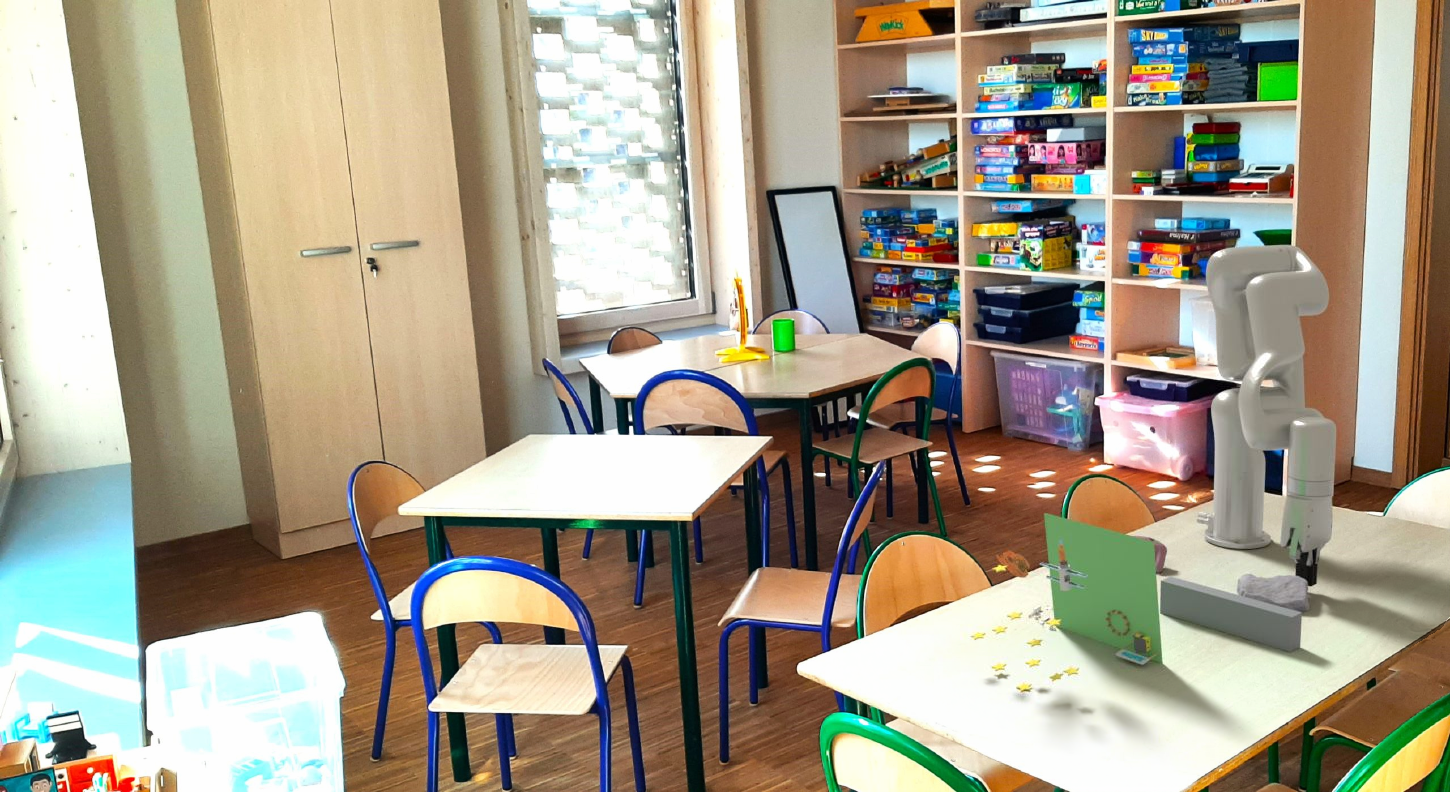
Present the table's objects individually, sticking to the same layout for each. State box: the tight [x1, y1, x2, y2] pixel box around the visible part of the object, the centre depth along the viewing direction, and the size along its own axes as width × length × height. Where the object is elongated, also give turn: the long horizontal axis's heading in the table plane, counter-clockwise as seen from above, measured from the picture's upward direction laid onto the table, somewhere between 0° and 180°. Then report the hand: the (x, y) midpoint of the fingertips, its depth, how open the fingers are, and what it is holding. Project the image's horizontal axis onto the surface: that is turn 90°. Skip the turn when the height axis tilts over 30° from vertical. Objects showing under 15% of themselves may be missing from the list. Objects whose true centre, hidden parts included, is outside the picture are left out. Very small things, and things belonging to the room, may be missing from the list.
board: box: [1159, 576, 1303, 653], centre depth 213 cm, size 24×3×6 cm, turn 38°
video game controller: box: [1133, 535, 1168, 574], centre depth 246 cm, size 10×5×7 cm, turn 58°
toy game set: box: [970, 512, 1163, 692], centre depth 201 cm, size 22×25×24 cm
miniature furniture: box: [1028, 605, 1057, 631], centre depth 228 cm, size 7×25×2 cm, turn 138°
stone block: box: [1236, 573, 1311, 613], centre depth 225 cm, size 12×5×10 cm
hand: (1305, 583), depth 229 cm, fingers closed
